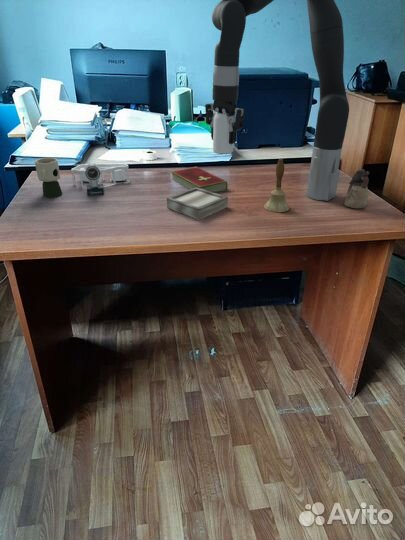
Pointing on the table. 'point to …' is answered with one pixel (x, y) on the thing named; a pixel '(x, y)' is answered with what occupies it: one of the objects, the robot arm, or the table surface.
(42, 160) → the character mug
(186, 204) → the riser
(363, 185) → the figurine
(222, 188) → the hardcover book
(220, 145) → the can
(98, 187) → the watch
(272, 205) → the hand bell
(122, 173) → the skeletal toy car
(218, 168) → the table surface
